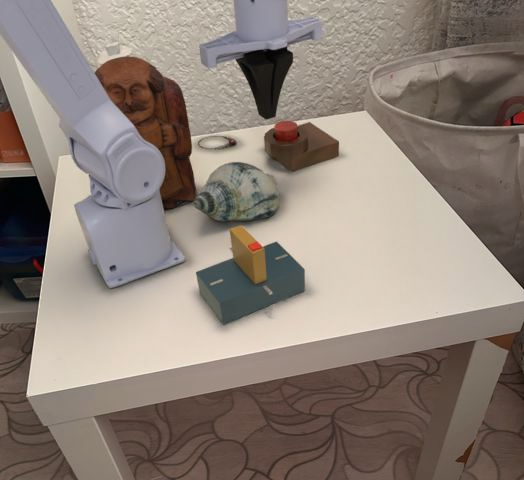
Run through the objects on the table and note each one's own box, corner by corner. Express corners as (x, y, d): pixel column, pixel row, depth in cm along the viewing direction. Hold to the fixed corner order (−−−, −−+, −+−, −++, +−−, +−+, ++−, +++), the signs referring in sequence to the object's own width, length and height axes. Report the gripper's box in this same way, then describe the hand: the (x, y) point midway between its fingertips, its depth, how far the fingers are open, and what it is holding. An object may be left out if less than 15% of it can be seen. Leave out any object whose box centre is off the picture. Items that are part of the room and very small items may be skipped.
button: (282, 145, 76) (281, 132, 74) (270, 136, 78) (270, 124, 76) (301, 138, 77) (301, 126, 75) (290, 130, 79) (289, 118, 77)
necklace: (232, 153, 83) (232, 147, 82) (194, 148, 84) (193, 142, 84) (240, 140, 86) (240, 134, 85) (203, 135, 87) (202, 129, 86)
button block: (279, 176, 77) (278, 149, 74) (252, 153, 82) (250, 127, 79) (338, 156, 80) (340, 129, 77) (309, 135, 85) (309, 109, 82)
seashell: (287, 223, 72) (197, 240, 70) (273, 176, 74) (185, 192, 72) (293, 194, 66) (194, 211, 64) (277, 144, 68) (182, 160, 66)
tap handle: (233, 260, 59) (229, 227, 56) (244, 255, 60) (241, 222, 57) (255, 285, 56) (252, 251, 53) (267, 280, 57) (264, 246, 54)
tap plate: (229, 334, 56) (226, 311, 54) (193, 285, 62) (189, 262, 59) (312, 298, 59) (312, 275, 56) (271, 255, 65) (269, 233, 62)
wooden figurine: (117, 222, 72) (73, 78, 58) (111, 198, 76) (69, 59, 63) (204, 202, 73) (181, 59, 60) (193, 180, 78) (170, 41, 65)
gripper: (212, 8, 52) (228, 144, 62) (339, -21, 56) (335, 111, 66) (184, -7, 57) (202, 122, 67) (303, -33, 61) (304, 92, 71)
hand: (267, 115), depth 67 cm, fingers closed
